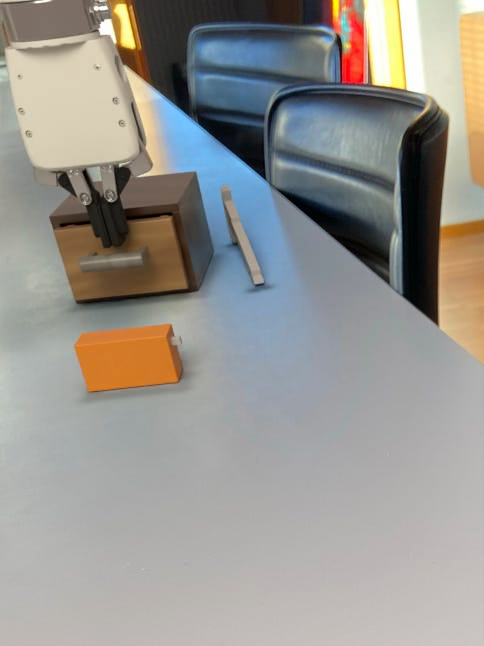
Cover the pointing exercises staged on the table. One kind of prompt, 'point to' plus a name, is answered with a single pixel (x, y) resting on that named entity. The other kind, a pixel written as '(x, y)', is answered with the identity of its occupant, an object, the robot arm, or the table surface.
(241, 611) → the table surface
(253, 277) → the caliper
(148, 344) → the orange brick with nub
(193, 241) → the cabinet
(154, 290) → the drawer
